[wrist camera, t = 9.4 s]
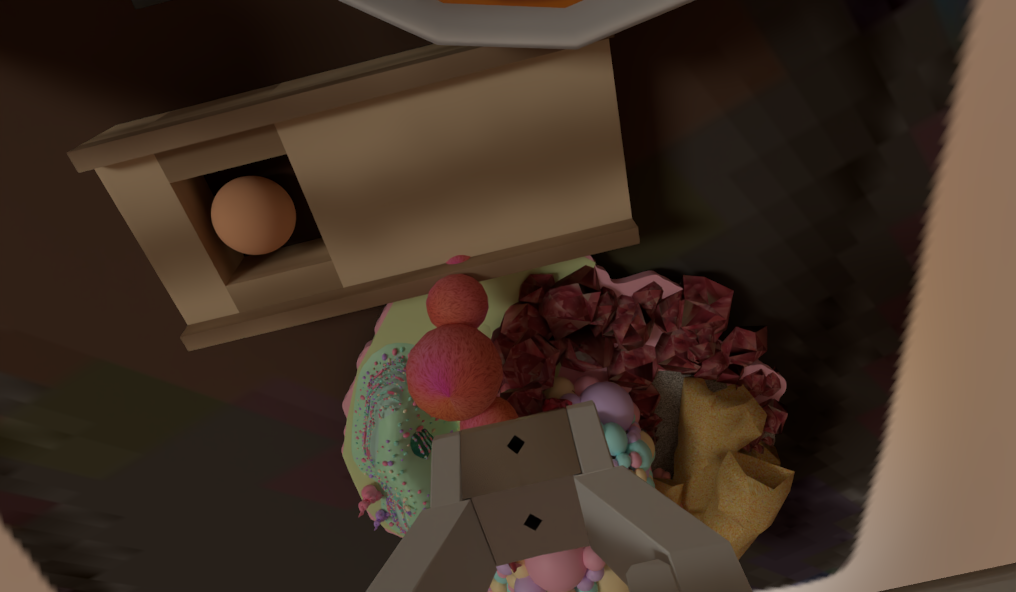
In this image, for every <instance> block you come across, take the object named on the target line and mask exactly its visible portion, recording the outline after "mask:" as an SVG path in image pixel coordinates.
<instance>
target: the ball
mask: <svg viewBox="0 0 1016 592" xmlns="http://www.w3.org/2000/svg"><path fill="white" fill-rule="evenodd" d="M211 219H212V224H213V227H214V229H215V231H216V233H217V235H218V236H219V237H220V239H221V240H222V241H223V242H224V243H225V244H226V245H228V246H229V247H231V248H232V249H234V250H236V251H238V252H241V253H244V254H250V255H261V254H267V253H270V252H273V251H275V250H277V249H278V248H280V247H281V246H283V245H284V244H285V243H286V242H287V241H288V239H289V238H290V236H291V235H292V233H293V230H294V228H295V223H296V211H295V207H294V204H293V201H292V199H291V197H290V196H289V194H288V193H287V192H286V191H285V190H284V189H283V188H282V187H281V186H280V185H279V184H277V183H276V182H274V181H272V180H270V179H267V178H264V177H260V176H243V177H239V178H236V179H233V180H231V181H230V182H228V183H226V184H225V185H224V186H223V187H222V188H221V189H220V190H219V191H218V193H217V194H216V196H215V198H214V200H213V203H212V208H211Z"/></svg>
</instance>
